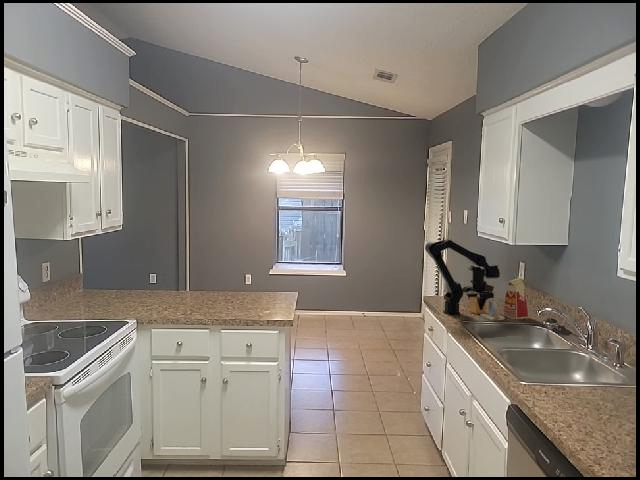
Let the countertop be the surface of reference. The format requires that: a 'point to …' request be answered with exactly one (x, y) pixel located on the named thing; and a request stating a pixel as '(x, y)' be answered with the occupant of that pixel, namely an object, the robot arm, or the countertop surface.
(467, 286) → the robot arm
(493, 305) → the metal post
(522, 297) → the milk carton
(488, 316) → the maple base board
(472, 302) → the tan cardboard-colored cube
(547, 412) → the countertop surface
